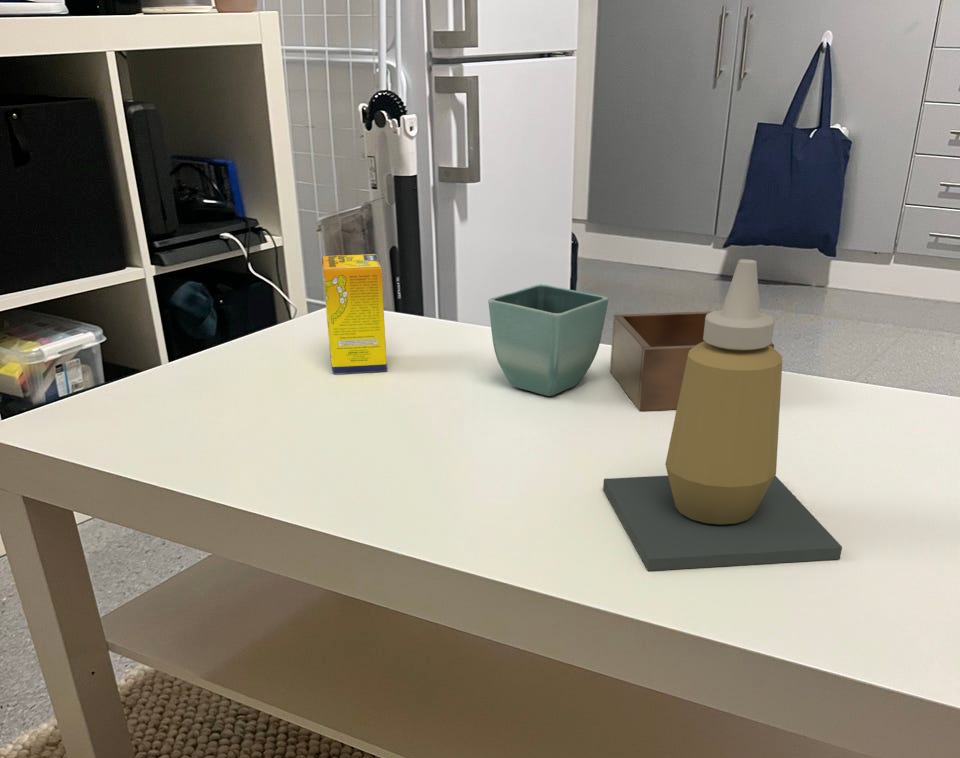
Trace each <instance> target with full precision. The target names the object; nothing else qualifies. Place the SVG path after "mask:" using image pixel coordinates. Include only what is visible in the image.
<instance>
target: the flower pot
mask: <svg viewBox="0 0 960 758" xmlns="http://www.w3.org/2000/svg"><path fill="white" fill-rule="evenodd" d="M487 302H488V311H489V321H490V330H491V338H492V343H493V351H494V354H495V357H496V360H497V362H498V365H499V367H500V369H501V371H502V372H503V373H502V374H503V375H504V376H505V378H506V380H507V381H508V382H509V383H510V385H511V387H514V388H516V389H521V390H524V391H529V392H531V393H535V394H538V395H543V396H546V397H552V396H555V395H558V394H559V393H562V392H563V391H566V390H569V389H571V388H574V387H577V386H578V385H579V384H580V382H581V381H582V379H584V377H585V376H586V374H587V373H588V371H589V369H590V368H591V366H592V364H593V362H594V360H595V358H596V355H597V353H598V351H599V347H600V344H601V340H602V335H603V331H604V330H603V329H604V325H605V320H606V316H607V310H608V304H609V297H608V296H604V295H600V294H594V293H589V292H583V291H579V290H575V289H569V288H564V287H559V286H554V285H549V284H542V283H540V284H535V285H531V286H528V287H524V288H522V289H518V290H515V291H512V292H509V293H505V294H501V295H497V296H493V297H492V298H490V299H488V300H487Z"/></svg>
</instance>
